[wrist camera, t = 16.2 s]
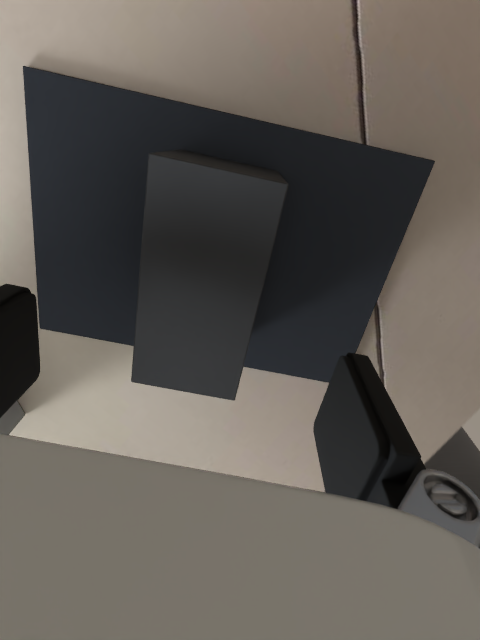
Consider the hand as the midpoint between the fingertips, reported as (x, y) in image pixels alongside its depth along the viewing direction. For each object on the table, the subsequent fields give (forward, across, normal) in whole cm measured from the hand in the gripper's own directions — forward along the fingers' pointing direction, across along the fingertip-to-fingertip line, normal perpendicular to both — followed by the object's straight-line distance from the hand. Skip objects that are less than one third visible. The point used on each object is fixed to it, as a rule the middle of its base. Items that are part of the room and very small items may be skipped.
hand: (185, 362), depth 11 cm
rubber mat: (+11, 0, 0) cm, 11 cm away
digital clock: (+10, 0, 0) cm, 10 cm away
